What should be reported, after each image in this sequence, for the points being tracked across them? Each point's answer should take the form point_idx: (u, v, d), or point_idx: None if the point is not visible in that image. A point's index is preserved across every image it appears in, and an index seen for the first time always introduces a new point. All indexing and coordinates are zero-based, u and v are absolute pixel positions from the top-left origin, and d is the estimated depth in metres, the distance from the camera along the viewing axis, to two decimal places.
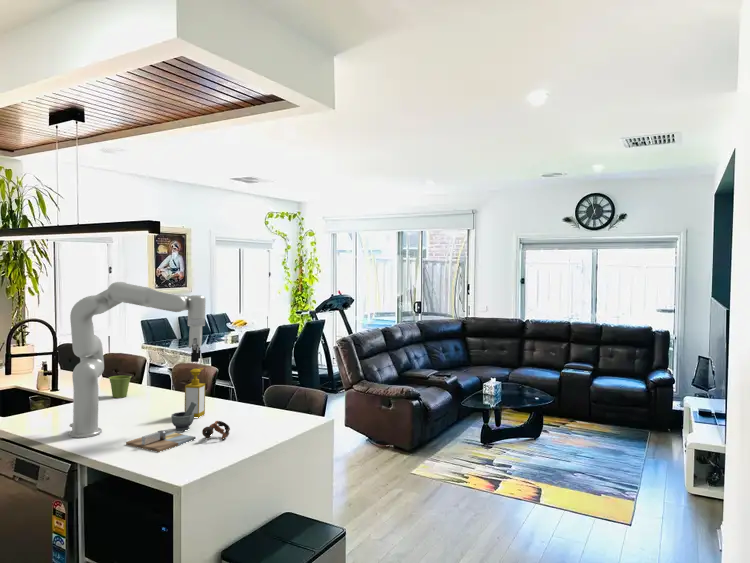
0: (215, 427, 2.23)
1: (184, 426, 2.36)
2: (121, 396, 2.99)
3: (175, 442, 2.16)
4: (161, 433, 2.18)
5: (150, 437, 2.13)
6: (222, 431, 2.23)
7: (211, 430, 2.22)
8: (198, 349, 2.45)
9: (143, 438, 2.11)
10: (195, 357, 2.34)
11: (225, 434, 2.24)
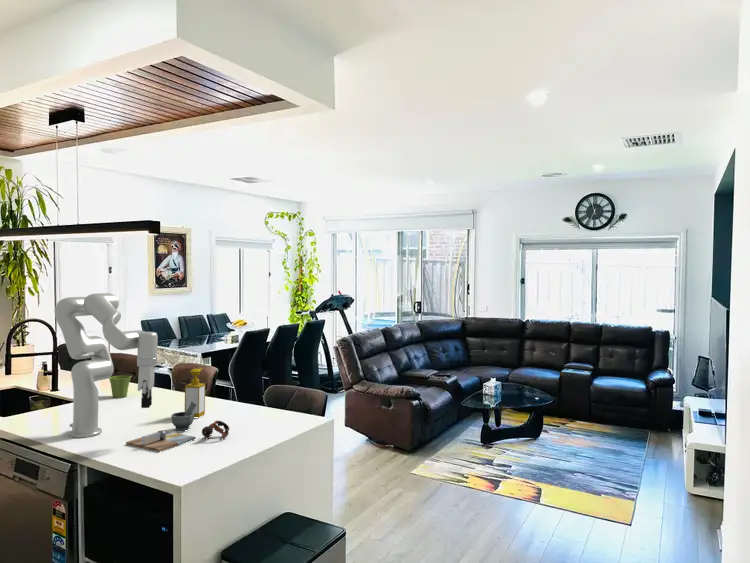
0: (215, 427, 2.24)
1: (184, 426, 2.36)
2: (121, 396, 2.99)
3: (175, 442, 2.16)
4: (161, 433, 2.18)
5: (150, 437, 2.13)
6: (222, 431, 2.24)
7: (211, 430, 2.23)
8: (149, 395, 2.20)
9: (143, 438, 2.11)
10: (146, 403, 2.15)
11: (225, 434, 2.25)
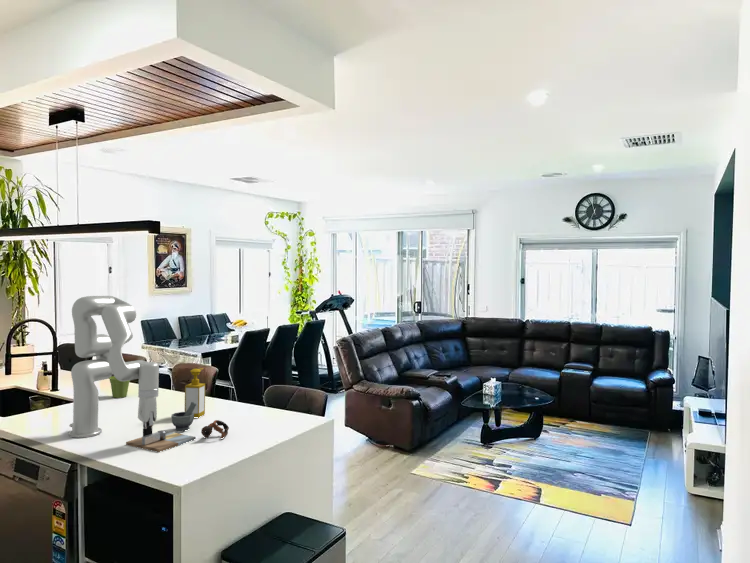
0: (214, 426, 2.24)
1: (184, 426, 2.36)
2: (121, 396, 2.99)
3: (175, 442, 2.16)
4: (161, 433, 2.18)
5: (150, 437, 2.13)
6: (221, 430, 2.24)
7: (210, 429, 2.23)
8: None
9: (143, 438, 2.11)
10: (149, 433, 2.15)
11: (224, 433, 2.25)
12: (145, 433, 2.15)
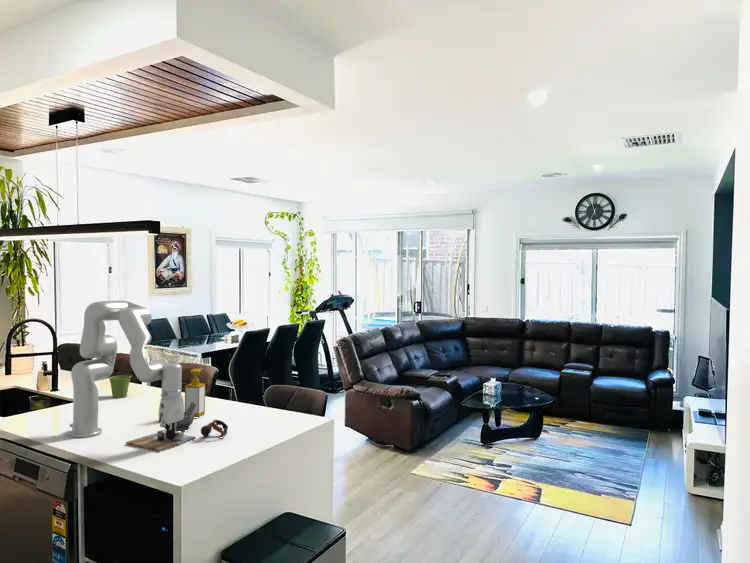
0: (213, 426, 2.25)
1: (184, 426, 2.36)
2: (121, 396, 2.99)
3: (175, 442, 2.16)
4: None
5: None
6: (220, 430, 2.25)
7: (209, 429, 2.24)
8: None
9: (182, 433, 2.19)
10: None
11: (223, 433, 2.26)
12: None
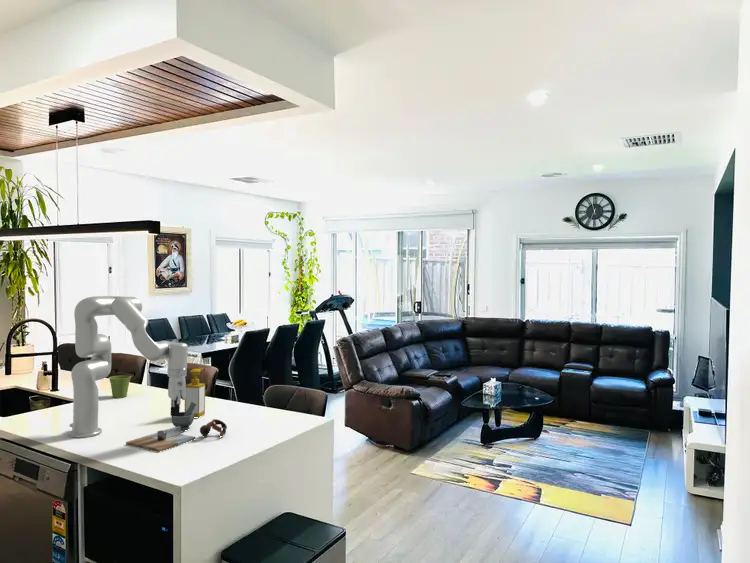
0: (212, 425, 2.26)
1: (184, 426, 2.36)
2: (121, 396, 2.99)
3: (175, 442, 2.16)
4: None
5: None
6: (219, 429, 2.26)
7: (209, 428, 2.25)
8: None
9: None
10: None
11: (222, 432, 2.27)
12: None
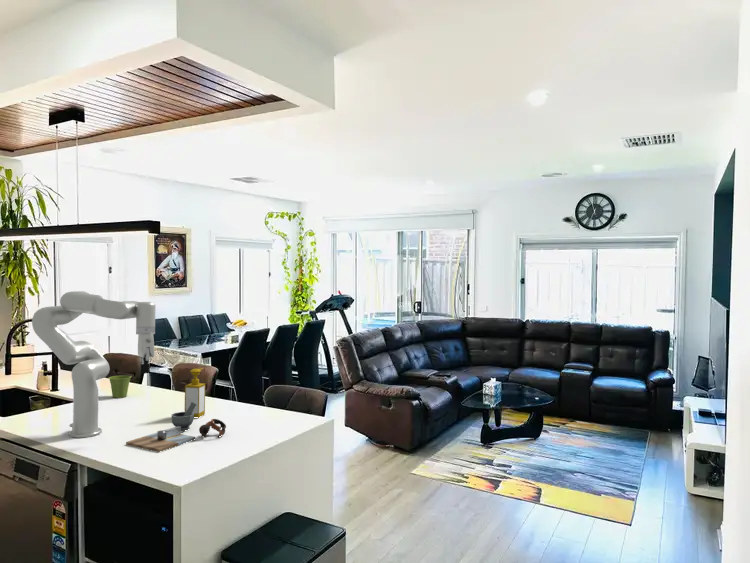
0: (212, 425, 2.27)
1: (184, 426, 2.36)
2: (121, 396, 2.99)
3: (175, 442, 2.16)
4: None
5: None
6: (219, 429, 2.27)
7: (208, 428, 2.25)
8: None
9: None
10: None
11: (222, 432, 2.28)
12: None
